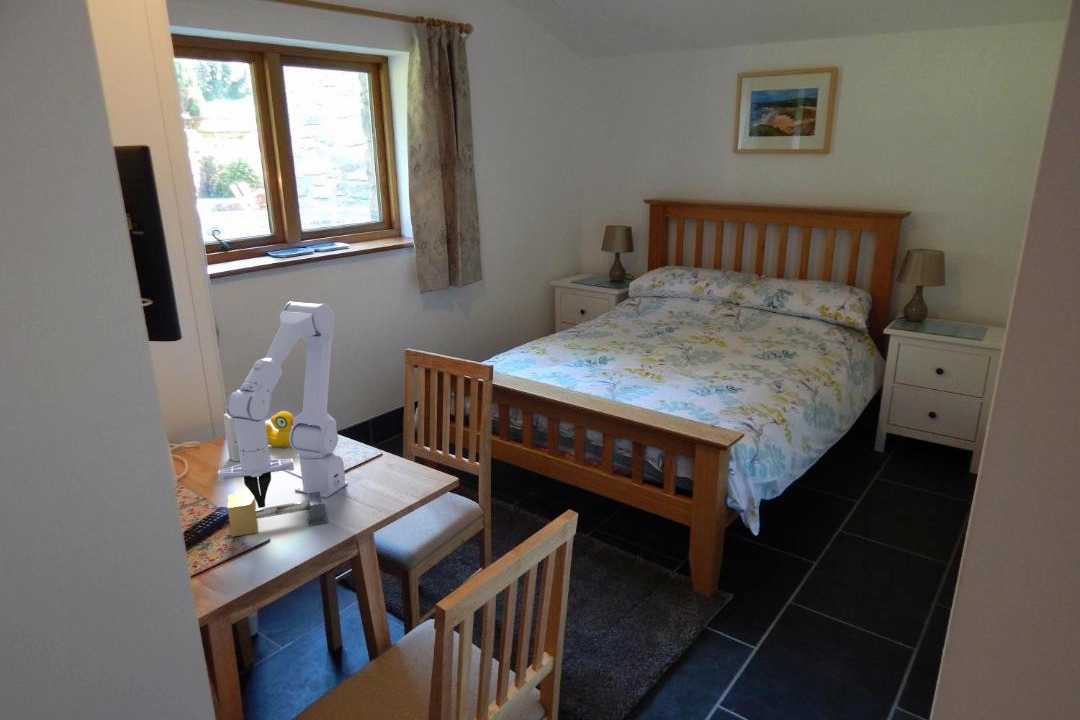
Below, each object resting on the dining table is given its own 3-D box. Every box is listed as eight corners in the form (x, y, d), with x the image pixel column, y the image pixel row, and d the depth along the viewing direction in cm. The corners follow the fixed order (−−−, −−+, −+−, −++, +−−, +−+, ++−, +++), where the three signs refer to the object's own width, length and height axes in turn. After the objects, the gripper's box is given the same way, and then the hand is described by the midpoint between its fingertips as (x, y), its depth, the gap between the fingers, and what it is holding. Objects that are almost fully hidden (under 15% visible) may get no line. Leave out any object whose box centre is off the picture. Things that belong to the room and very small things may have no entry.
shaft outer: (278, 512, 153) (276, 504, 152) (278, 516, 151) (277, 508, 151) (232, 520, 150) (231, 511, 149) (232, 525, 148) (231, 516, 148)
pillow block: (325, 505, 160) (323, 488, 158) (328, 522, 152) (326, 504, 151) (306, 509, 158) (304, 491, 157) (308, 526, 151) (306, 508, 150)
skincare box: (235, 462, 182) (228, 418, 178) (228, 457, 185) (221, 414, 181) (258, 455, 186) (252, 412, 182) (251, 450, 189) (245, 407, 186)
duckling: (308, 442, 194) (304, 408, 191) (300, 451, 188) (296, 415, 185) (268, 441, 194) (263, 407, 192) (259, 450, 189) (254, 415, 186)
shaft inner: (321, 504, 156) (321, 496, 156) (322, 508, 154) (321, 500, 154) (277, 512, 153) (276, 504, 152) (277, 516, 151) (276, 508, 151)
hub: (257, 518, 154) (253, 491, 152) (258, 531, 148) (253, 503, 147) (232, 522, 152) (228, 495, 150) (232, 536, 147) (227, 508, 145)
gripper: (214, 459, 140) (223, 520, 144) (291, 448, 145) (298, 507, 149) (215, 446, 147) (225, 505, 151) (289, 435, 151) (296, 492, 155)
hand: (261, 505), depth 150 cm, fingers closed
